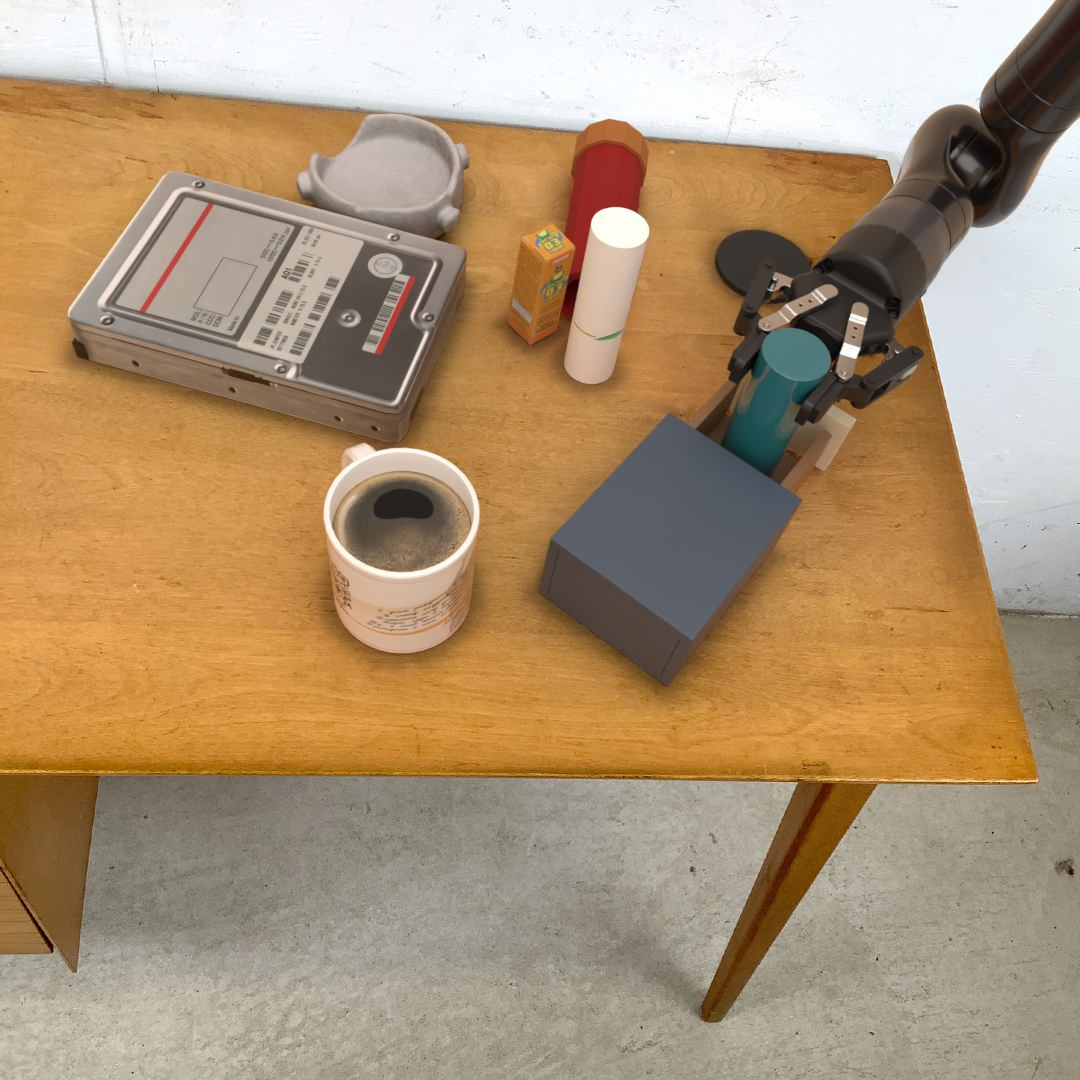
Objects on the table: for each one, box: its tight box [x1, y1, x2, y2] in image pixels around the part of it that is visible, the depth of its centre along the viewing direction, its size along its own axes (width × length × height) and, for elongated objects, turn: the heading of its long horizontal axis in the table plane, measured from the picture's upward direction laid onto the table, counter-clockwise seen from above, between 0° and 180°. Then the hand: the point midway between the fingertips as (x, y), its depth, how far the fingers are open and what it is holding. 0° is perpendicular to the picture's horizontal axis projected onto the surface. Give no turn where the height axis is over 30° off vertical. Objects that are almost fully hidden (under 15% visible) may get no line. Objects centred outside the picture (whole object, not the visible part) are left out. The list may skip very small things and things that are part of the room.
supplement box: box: [507, 223, 575, 346], centre depth 83 cm, size 3×3×10 cm
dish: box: [295, 112, 471, 240], centre depth 92 cm, size 14×14×5 cm
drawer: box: [687, 370, 857, 495], centre depth 79 cm, size 18×10×6 cm, turn 142°
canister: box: [719, 328, 831, 479], centre depth 74 cm, size 5×5×13 cm
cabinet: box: [538, 412, 803, 688], centre depth 73 cm, size 15×12×8 cm
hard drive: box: [67, 170, 468, 443], centre depth 83 cm, size 18×27×4 cm
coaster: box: [714, 229, 812, 304], centre depth 95 cm, size 9×9×1 cm
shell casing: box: [560, 118, 650, 320], centre depth 91 cm, size 7×20×7 cm, turn 172°
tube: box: [563, 207, 650, 385], centre depth 80 cm, size 4×4×15 cm
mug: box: [322, 442, 481, 654], centre depth 69 cm, size 10×12×11 cm
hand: (769, 394), depth 69 cm, fingers closed on canister, 5 cm apart
